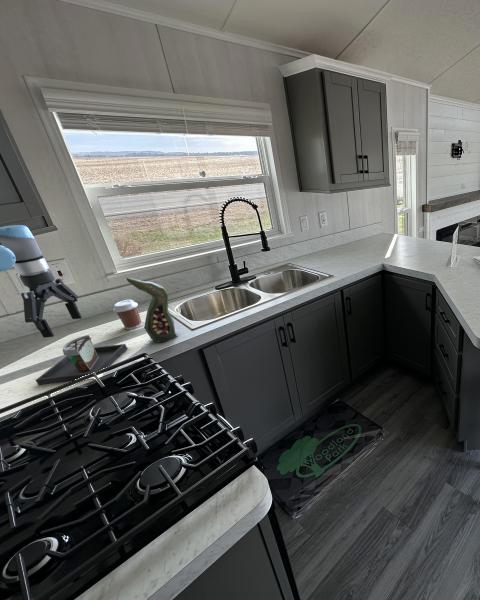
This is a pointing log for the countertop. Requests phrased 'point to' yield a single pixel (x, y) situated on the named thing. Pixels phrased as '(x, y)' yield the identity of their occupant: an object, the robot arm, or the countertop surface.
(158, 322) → the tentacle
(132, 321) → the coffee cup
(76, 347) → the food container
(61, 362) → the storage tray
